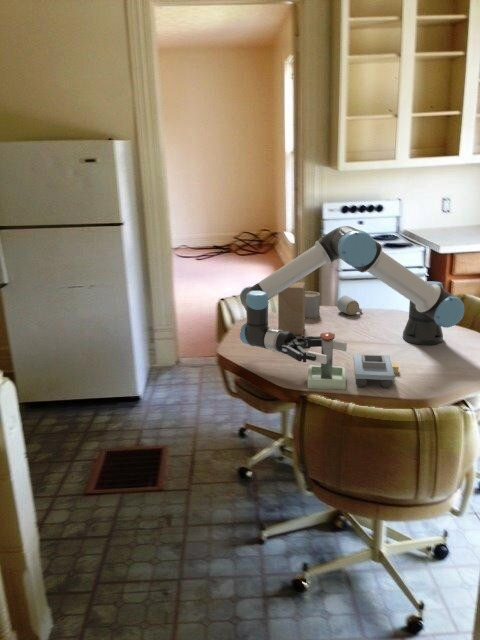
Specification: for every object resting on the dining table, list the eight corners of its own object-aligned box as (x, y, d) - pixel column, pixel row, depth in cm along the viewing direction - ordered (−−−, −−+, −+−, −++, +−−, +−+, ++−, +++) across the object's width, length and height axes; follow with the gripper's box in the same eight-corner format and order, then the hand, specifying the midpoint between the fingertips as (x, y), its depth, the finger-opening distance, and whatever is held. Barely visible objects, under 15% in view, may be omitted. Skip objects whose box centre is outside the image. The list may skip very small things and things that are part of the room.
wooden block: (302, 335, 231) (303, 287, 225) (278, 334, 233) (278, 287, 227) (304, 327, 240) (305, 282, 234) (281, 326, 242) (281, 281, 236)
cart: (396, 369, 195) (398, 350, 193) (402, 390, 178) (404, 370, 176) (353, 367, 197) (353, 348, 195) (355, 388, 180) (355, 368, 178)
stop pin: (333, 376, 188) (334, 332, 184) (333, 381, 183) (334, 337, 179) (319, 375, 188) (320, 332, 184) (319, 380, 184) (320, 336, 180)
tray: (344, 374, 191) (345, 366, 190) (345, 389, 180) (345, 380, 179) (308, 373, 193) (309, 365, 192) (307, 387, 182) (307, 379, 181)
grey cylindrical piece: (310, 319, 251) (310, 297, 248) (292, 315, 258) (293, 294, 255) (328, 313, 260) (329, 292, 257) (311, 309, 267) (311, 288, 264)
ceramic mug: (346, 317, 254) (347, 300, 252) (336, 312, 261) (337, 296, 259) (365, 314, 258) (367, 297, 256) (355, 309, 265) (356, 293, 263)
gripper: (299, 341, 204) (353, 352, 192) (259, 362, 185) (316, 376, 173) (299, 321, 202) (354, 331, 190) (259, 340, 183) (317, 353, 171)
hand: (336, 353), depth 181 cm, fingers open, 13 cm apart
